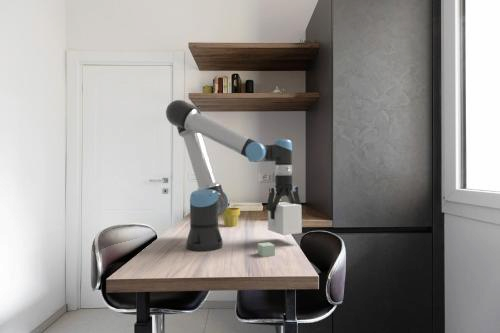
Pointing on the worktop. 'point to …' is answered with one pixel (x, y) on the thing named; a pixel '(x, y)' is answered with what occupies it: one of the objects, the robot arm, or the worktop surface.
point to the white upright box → (287, 219)
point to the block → (266, 249)
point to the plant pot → (231, 216)
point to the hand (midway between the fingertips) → (284, 225)
